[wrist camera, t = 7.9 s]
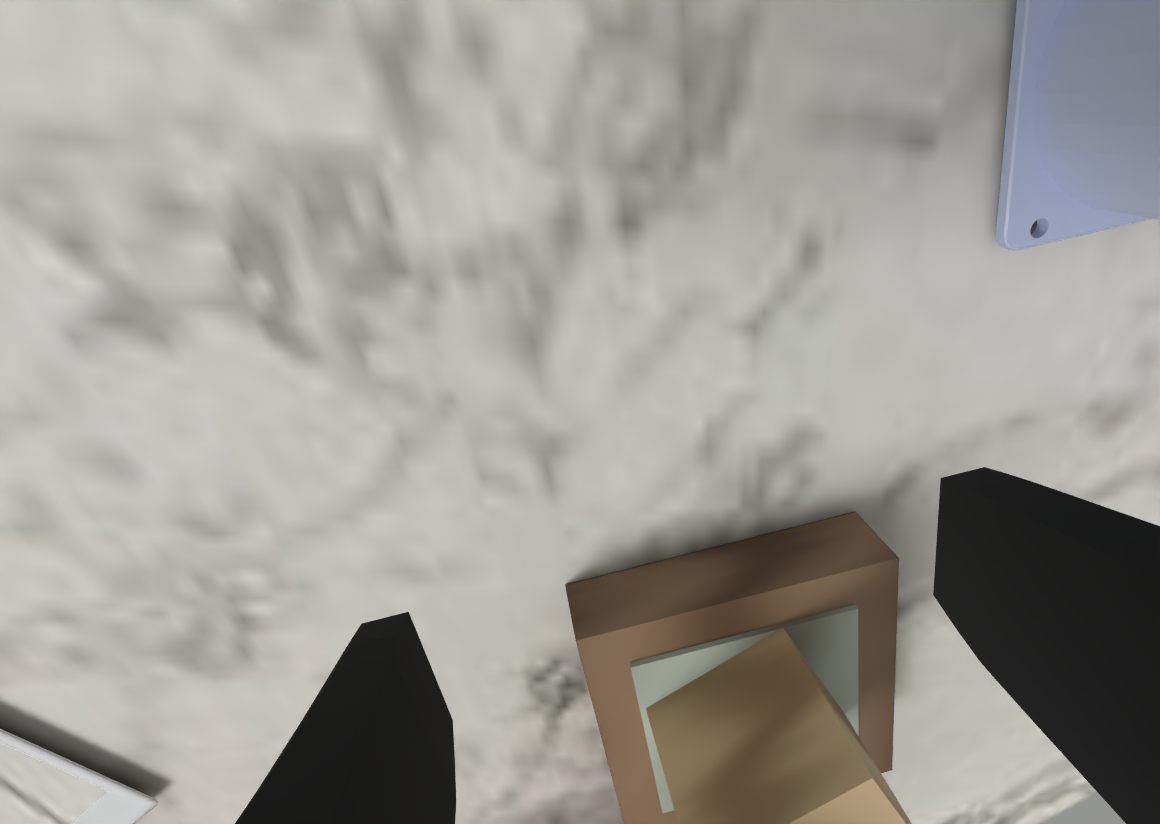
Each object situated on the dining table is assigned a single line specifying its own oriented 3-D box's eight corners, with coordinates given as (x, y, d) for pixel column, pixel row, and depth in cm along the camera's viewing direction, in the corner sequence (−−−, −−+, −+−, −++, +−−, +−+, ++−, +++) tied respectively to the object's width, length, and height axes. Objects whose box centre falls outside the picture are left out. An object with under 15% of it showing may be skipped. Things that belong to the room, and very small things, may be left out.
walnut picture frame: (855, 511, 22) (902, 562, 20) (856, 713, 26) (895, 775, 24) (565, 585, 22) (576, 645, 19) (615, 778, 26) (630, 847, 24)
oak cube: (783, 627, 20) (872, 777, 16) (844, 714, 22) (938, 868, 18) (645, 708, 21) (693, 876, 16) (718, 785, 23) (778, 951, 18)
